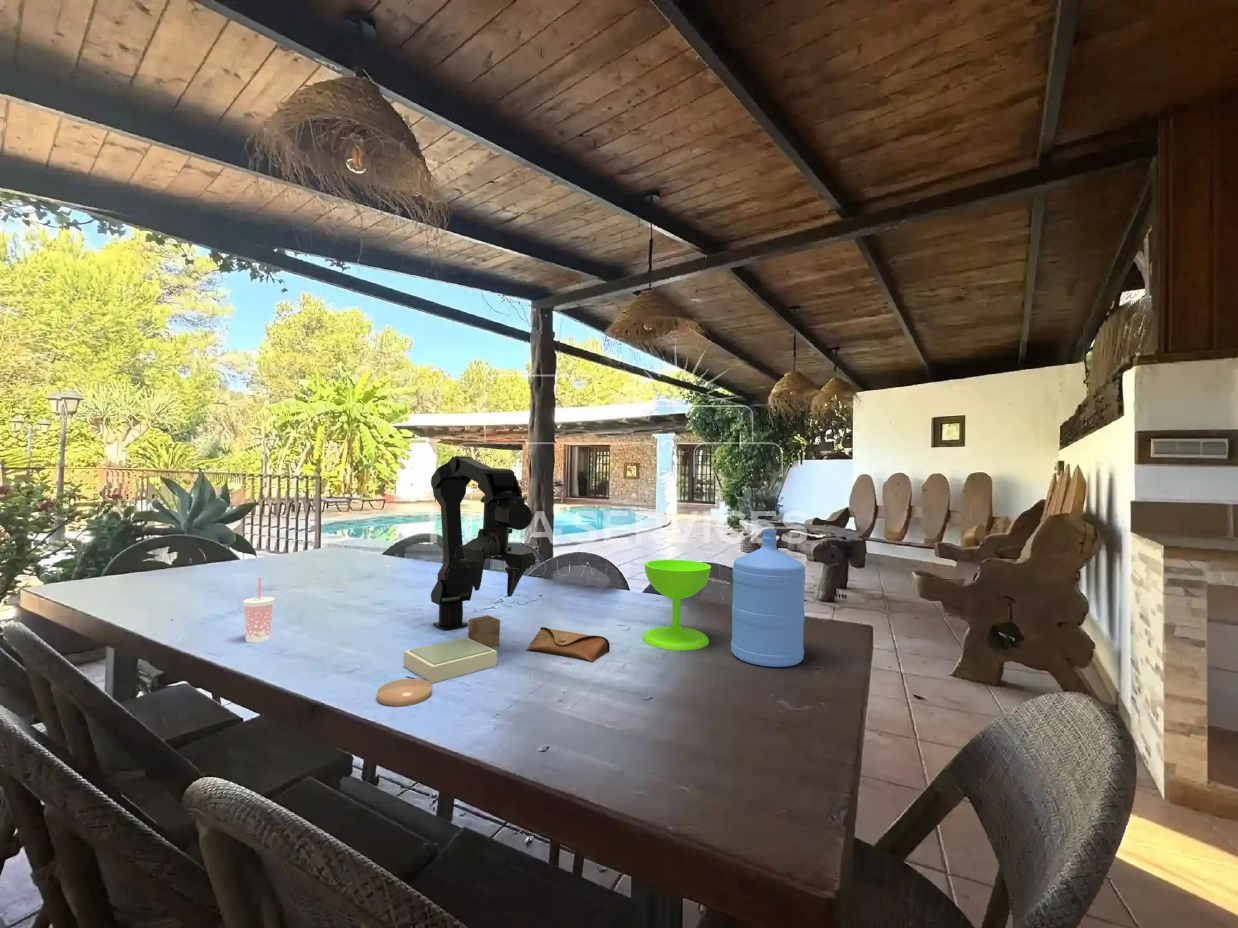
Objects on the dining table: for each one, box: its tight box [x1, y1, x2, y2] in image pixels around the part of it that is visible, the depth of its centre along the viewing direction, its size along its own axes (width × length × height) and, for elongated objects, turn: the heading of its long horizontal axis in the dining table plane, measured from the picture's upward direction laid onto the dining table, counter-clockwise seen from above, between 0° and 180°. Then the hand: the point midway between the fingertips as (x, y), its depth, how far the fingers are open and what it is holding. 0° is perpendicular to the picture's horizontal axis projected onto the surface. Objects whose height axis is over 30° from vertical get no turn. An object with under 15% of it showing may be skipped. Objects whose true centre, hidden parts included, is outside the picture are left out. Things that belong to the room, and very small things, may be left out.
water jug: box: [730, 529, 806, 668], centre depth 123 cm, size 16×16×28 cm
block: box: [467, 615, 501, 649], centre depth 125 cm, size 5×5×6 cm
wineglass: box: [642, 559, 712, 651], centre depth 133 cm, size 16×16×18 cm
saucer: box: [376, 678, 433, 707], centre depth 97 cm, size 9×9×1 cm
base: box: [403, 637, 498, 684], centre depth 112 cm, size 12×14×3 cm
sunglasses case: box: [524, 626, 611, 663], centre depth 123 cm, size 18×7×7 cm
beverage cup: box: [242, 577, 276, 643], centre depth 126 cm, size 6×6×14 cm
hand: (493, 593), depth 124 cm, fingers open, 9 cm apart
